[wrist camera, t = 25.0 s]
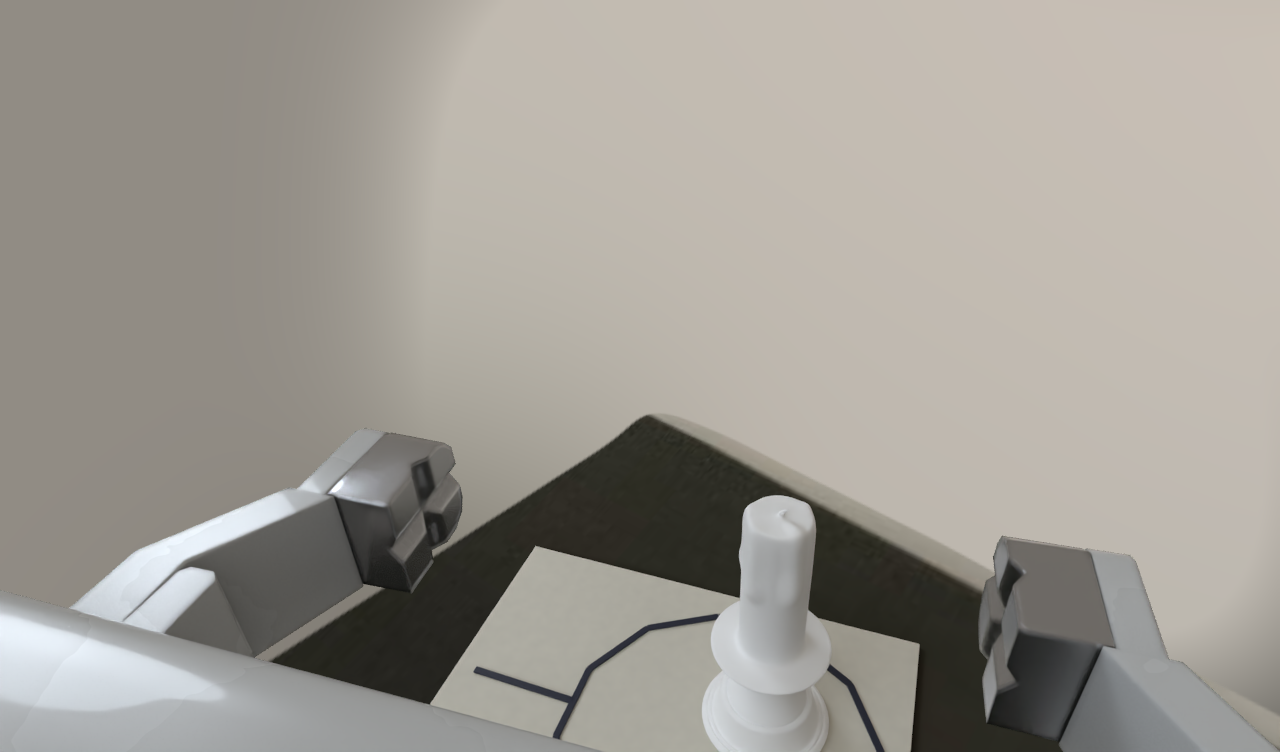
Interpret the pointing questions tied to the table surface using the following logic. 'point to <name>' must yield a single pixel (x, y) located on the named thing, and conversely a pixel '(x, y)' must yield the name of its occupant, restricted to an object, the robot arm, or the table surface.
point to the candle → (770, 640)
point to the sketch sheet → (649, 664)
